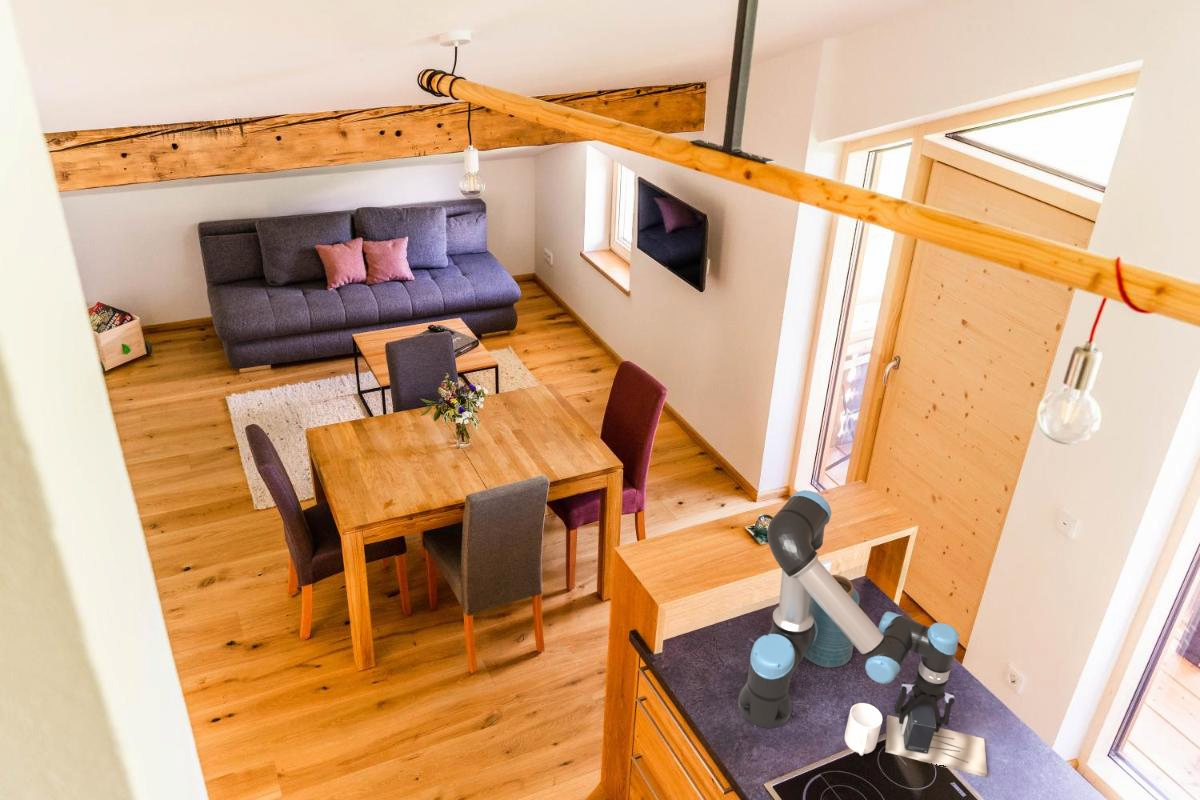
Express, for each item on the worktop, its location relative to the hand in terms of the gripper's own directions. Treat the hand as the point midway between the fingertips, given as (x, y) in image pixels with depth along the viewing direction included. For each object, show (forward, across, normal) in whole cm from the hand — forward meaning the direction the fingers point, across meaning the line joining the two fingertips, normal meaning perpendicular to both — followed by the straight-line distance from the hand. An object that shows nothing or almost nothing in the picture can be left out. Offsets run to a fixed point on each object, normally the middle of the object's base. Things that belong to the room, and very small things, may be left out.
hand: (915, 734), depth 245 cm
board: (+3, +6, 0) cm, 6 cm away
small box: (+1, 0, 0) cm, 1 cm away
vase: (+3, -27, +28) cm, 39 cm away
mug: (+3, -14, -6) cm, 16 cm away
